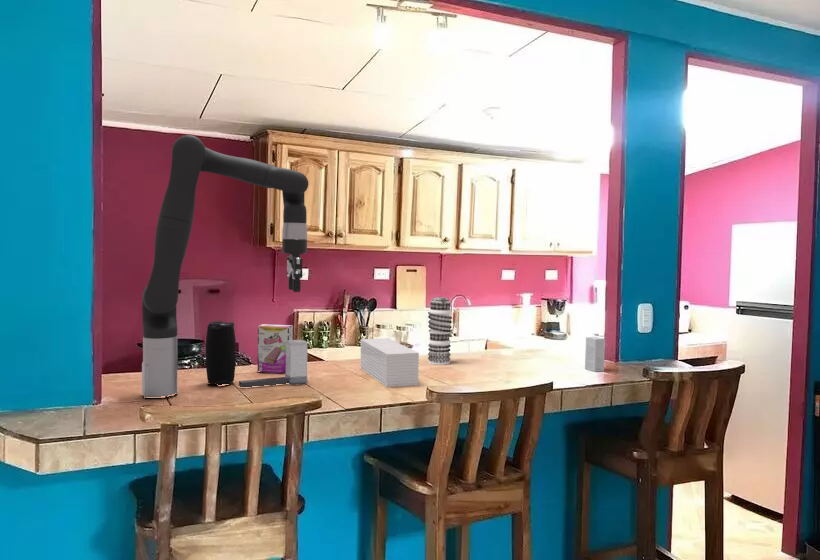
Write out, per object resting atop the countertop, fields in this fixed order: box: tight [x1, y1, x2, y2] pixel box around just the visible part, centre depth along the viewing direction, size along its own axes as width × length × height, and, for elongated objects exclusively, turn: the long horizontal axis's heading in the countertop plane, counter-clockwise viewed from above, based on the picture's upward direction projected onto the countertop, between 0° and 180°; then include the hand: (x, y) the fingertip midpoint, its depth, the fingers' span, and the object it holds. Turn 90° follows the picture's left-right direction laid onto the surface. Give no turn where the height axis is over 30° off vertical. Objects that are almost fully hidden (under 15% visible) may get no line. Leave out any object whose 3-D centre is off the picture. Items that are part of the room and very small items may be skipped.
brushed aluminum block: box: [285, 339, 308, 378], centre depth 203 cm, size 5×5×11 cm
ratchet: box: [238, 374, 308, 387], centre depth 200 cm, size 22×7×6 cm, turn 120°
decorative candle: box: [427, 296, 453, 366], centre depth 243 cm, size 9×9×25 cm
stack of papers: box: [359, 337, 420, 388], centre depth 217 cm, size 32×11×11 cm, turn 19°
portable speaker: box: [205, 320, 237, 386], centre depth 199 cm, size 9×9×20 cm
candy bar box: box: [257, 323, 294, 375], centre depth 219 cm, size 11×5×16 cm, turn 84°
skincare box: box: [584, 336, 606, 373], centre depth 234 cm, size 6×4×12 cm
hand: (294, 290), depth 196 cm, fingers open, 8 cm apart
